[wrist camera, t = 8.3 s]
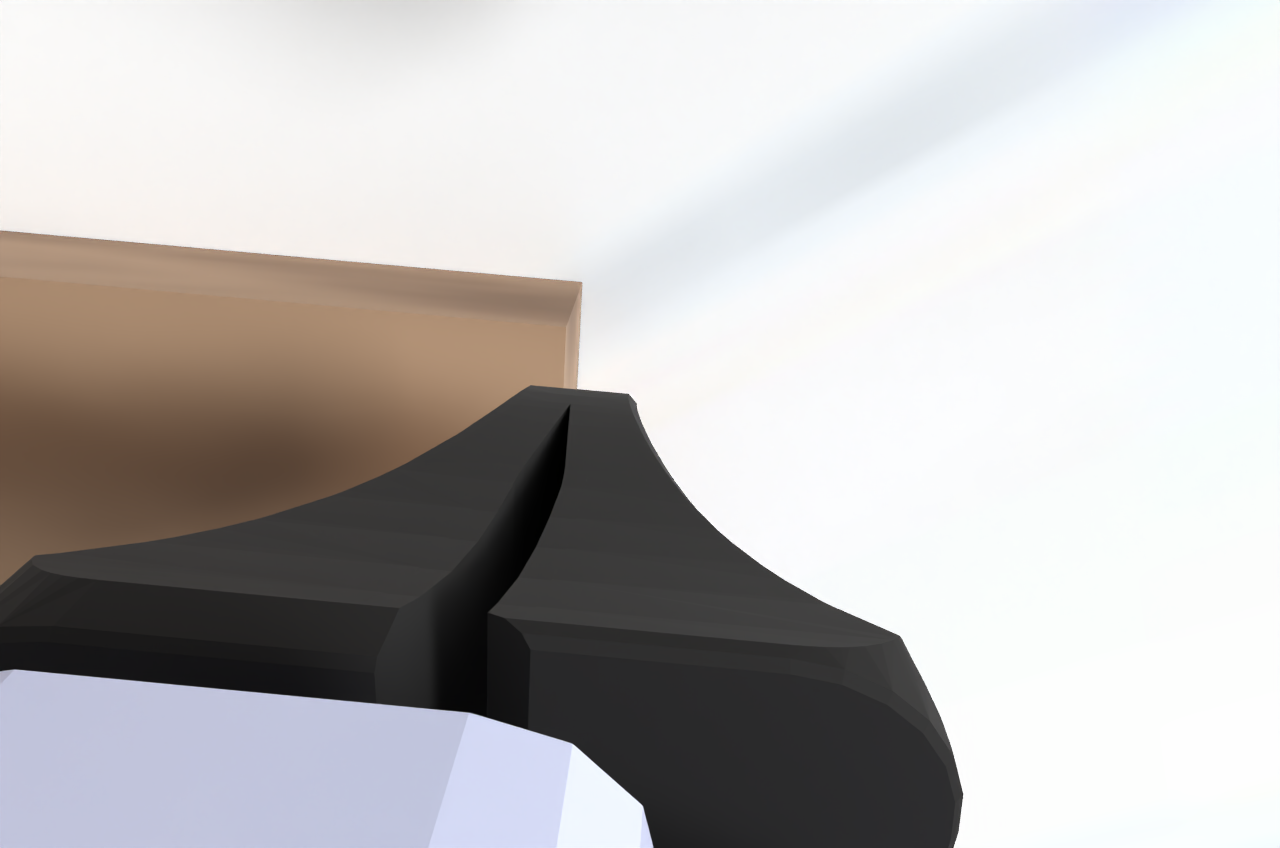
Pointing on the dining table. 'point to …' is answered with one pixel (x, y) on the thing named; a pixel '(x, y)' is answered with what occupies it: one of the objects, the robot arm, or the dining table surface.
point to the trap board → (239, 381)
